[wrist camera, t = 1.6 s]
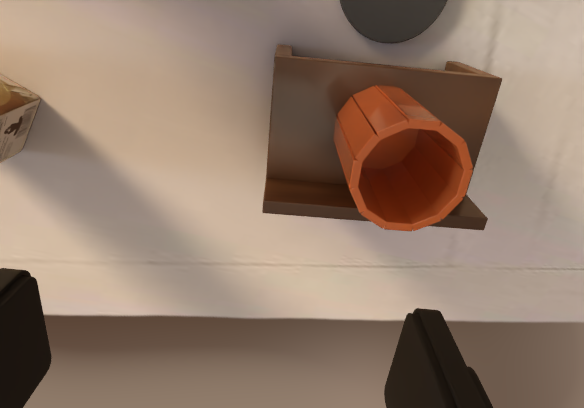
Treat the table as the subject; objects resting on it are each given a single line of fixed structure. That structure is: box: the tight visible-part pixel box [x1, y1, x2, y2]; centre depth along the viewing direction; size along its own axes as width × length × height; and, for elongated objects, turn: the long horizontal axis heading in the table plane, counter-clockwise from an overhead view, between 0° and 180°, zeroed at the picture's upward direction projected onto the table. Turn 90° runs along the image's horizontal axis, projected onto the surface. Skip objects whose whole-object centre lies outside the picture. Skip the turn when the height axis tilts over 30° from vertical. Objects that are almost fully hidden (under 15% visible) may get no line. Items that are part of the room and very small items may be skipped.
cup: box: [333, 85, 473, 231], centre depth 26 cm, size 6×6×9 cm
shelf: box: [263, 44, 502, 230], centre depth 32 cm, size 10×16×12 cm, turn 85°
